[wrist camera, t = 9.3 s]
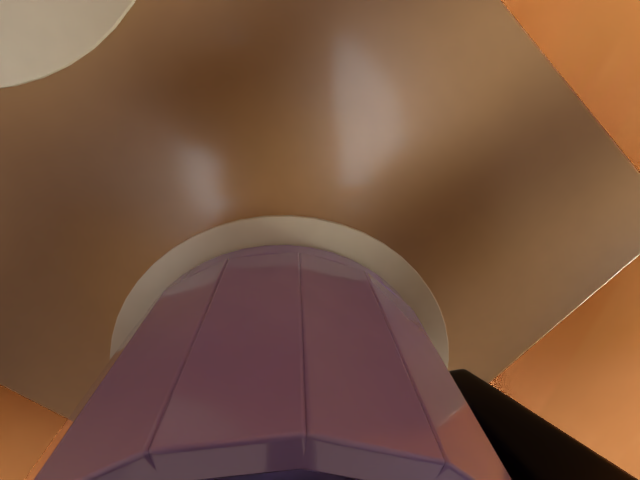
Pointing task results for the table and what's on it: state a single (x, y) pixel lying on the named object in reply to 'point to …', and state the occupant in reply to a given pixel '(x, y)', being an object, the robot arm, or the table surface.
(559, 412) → the table surface
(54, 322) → the placemat
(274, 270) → the dish
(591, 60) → the table surface
